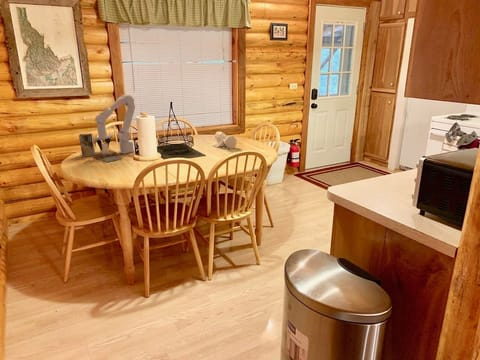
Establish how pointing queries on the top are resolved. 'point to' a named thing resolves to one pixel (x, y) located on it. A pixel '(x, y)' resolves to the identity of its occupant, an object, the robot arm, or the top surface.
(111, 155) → the walnut square frame
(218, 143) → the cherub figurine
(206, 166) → the top surface
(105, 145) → the cream block
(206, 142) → the top surface
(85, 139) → the coffee box
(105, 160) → the slate mat
